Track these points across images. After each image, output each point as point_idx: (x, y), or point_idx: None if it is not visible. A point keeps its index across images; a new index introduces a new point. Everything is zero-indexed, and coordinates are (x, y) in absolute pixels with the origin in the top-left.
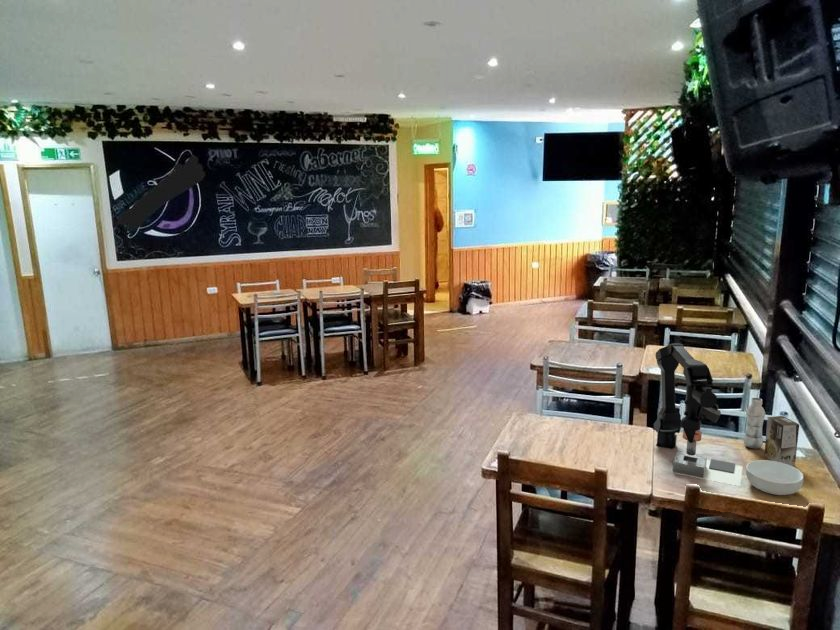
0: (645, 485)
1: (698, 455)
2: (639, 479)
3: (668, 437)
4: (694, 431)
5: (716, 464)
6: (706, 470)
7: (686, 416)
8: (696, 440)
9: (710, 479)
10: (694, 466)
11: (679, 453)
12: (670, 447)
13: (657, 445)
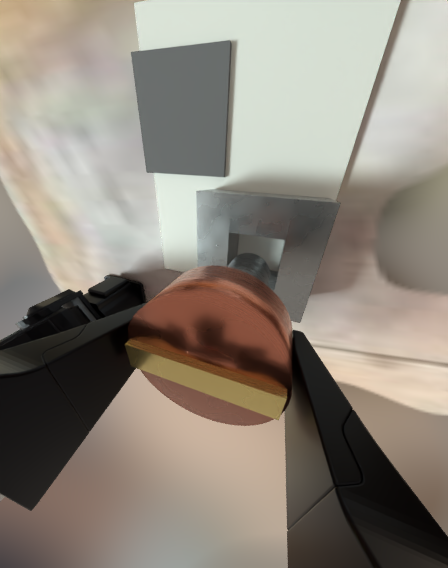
0: (413, 374)
1: (199, 228)
2: (366, 379)
3: (116, 311)
4: (429, 534)
5: (182, 146)
6: (246, 186)
7: (26, 508)
8: (286, 314)
9: (337, 164)
10: (324, 247)
11: None
12: (136, 289)
13: None
